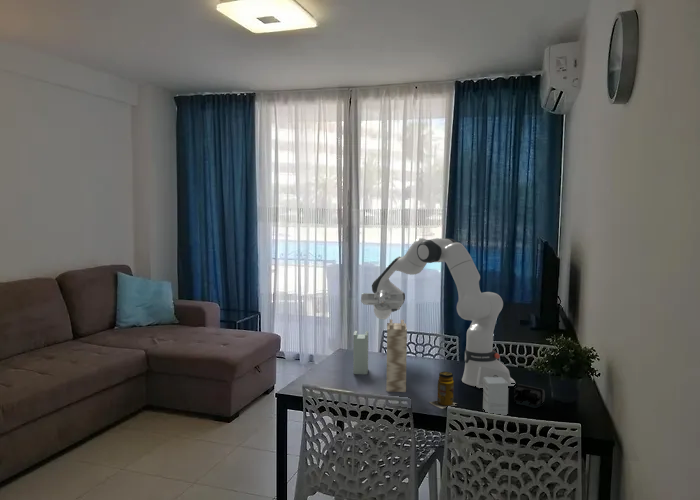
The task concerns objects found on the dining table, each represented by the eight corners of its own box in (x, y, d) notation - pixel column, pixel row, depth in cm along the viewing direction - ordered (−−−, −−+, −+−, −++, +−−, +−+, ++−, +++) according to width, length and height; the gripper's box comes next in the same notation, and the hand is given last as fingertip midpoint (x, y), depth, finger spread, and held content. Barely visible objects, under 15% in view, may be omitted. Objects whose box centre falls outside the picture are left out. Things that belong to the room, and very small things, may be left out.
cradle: (368, 369, 247) (368, 331, 245) (367, 374, 239) (367, 335, 237) (354, 368, 247) (354, 330, 246) (353, 374, 239) (353, 334, 238)
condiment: (458, 404, 202) (458, 374, 201) (441, 409, 197) (442, 377, 196) (444, 399, 208) (445, 369, 207) (428, 403, 203) (429, 372, 202)
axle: (379, 295, 250) (379, 289, 250) (385, 296, 250) (385, 289, 249) (378, 304, 230) (378, 297, 230) (385, 304, 230) (385, 297, 230)
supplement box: (501, 409, 197) (502, 376, 196) (508, 417, 190) (509, 383, 189) (482, 409, 197) (483, 376, 196) (487, 417, 189) (488, 383, 189)
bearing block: (405, 382, 227) (405, 319, 225) (405, 392, 215) (406, 325, 213) (386, 382, 228) (387, 319, 226) (386, 391, 216) (387, 325, 214)
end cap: (544, 404, 203) (545, 387, 202) (538, 409, 197) (539, 392, 197) (519, 398, 209) (519, 382, 208) (512, 403, 203) (513, 386, 203)
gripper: (361, 296, 260) (360, 286, 248) (402, 297, 259) (403, 287, 246) (361, 308, 258) (359, 299, 245) (402, 309, 256) (403, 300, 244)
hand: (382, 293), depth 246 cm, fingers closed on axle, 3 cm apart
